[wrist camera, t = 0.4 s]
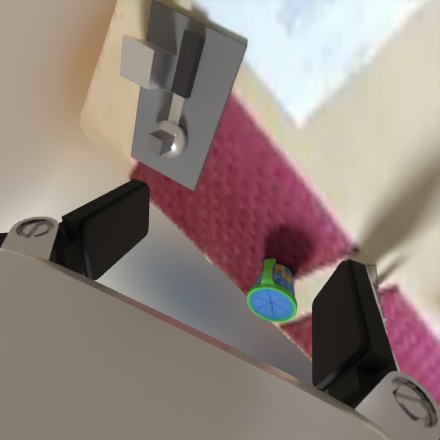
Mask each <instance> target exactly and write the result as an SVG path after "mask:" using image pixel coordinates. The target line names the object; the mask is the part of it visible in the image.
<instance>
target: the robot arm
mask: <svg viewBox="0 0 440 440" xmlns="http://www.w3.org/2000/svg"><path fill="white" fill-rule="evenodd" d="M149 199H150V188H149V187H148V186H147V183H145V182H142V181H140V180H137V179H133V180H131V181H129V182H127V183H125V184H123V185H122V186H120V187H118V188H116V189H114V190H112V191H110V192H108V193H106V194H104V195H102V196H100V197H99V198H97V199H95V200H93V201H91V202H89V203H87V204H85V205H83V206H81V207H79V208H78V209H76V210H73V211H72V212H70V213H68V214H66V215H64V216H62V220H63V221H62V222H60V223H58V222H57V221H56V220H54V219H53V218H49V217H32V218H28V219H24V220H22V221H20V222H18V223H16V224H15V225H14V226H13V227H12V228H11V229H10V231H9V233H0V440H440V409H439V406H438V405H437V403H436V402H435V400H434V399H433V397H432V396H431V395H430V393H429V392H428V391H427V390H426V389H425V388H424V387H423V386H422V385H421V384H420V383H419V382H417V381H416V380H415V379H414V378H412V377H410V376H409V375H407V374H405V373H402V372H399V371H398V370H397V367H396V363H395V360H394V357H393V353H392V350H391V347H390V344H389V340H388V337H387V334H386V330H385V327H384V324H383V321H382V317H381V314H380V311H379V308H378V306H377V302H376V299H375V296H374V292H373V289H372V286H371V283H370V279H369V276H368V273H367V269H366V266H365V265H364V264H361V263H358V262H356V261H353V260H348V261H347V262H346V261H342V262H341V263H340V265H339V266H338V267H337V269H336V270H335V271H334V273H333V274H332V276H331V277H330V278H329V280H328V281H327V282H326V284H325V285H324V286H323V288H322V289H321V291H320V292H319V293H318V295H317V296H316V297H315V299H314V301H313V304H312V381H313V385H314V386H315V387H317V389H316V388H315V387H312V386H310V385H309V384H307V383H305V382H303V381H301V380H299V379H297V378H294V377H293V376H291V375H289V374H287V373H285V372H283V371H281V370H279V369H277V368H275V367H273V366H271V365H269V364H267V363H265V362H262V361H260V360H258V359H256V358H254V357H252V356H250V355H248V354H246V353H244V352H242V351H240V350H238V349H236V348H234V347H232V346H229V345H228V344H225V343H223V342H221V341H219V340H217V339H215V338H213V337H211V336H209V335H207V334H205V333H203V332H201V331H199V330H196V329H194V328H192V327H190V326H188V325H186V324H184V323H182V322H180V321H178V320H176V319H173V318H172V317H169V316H167V315H165V314H163V313H161V312H159V311H157V310H155V309H153V308H150V307H149V306H146V305H144V304H142V303H140V302H138V301H136V300H134V299H131V298H130V297H127V296H125V295H123V294H121V293H119V292H117V291H115V290H113V289H111V288H108V287H106V286H104V285H102V284H100V283H98V282H96V281H94V280H97V279H98V278H100V277H101V276H102V275H103V274H104V273H105V272H106V271H107V270H108V269H110V268H111V267H112V266H113V265H114V264H115V263H116V262H117V261H118V260H120V259H121V258H122V257H123V256H124V255H125V254H126V253H127V252H129V251H130V250H131V249H132V248H133V247H134V246H135V245H136V244H137V243H139V242H140V241H141V240H142V239H143V238H144V237H145V236H146V235H147V233H148V227H149Z"/></svg>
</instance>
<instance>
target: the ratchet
mask: <svg viewBox="0 0 440 440" xmlns="http://www.w3.org/2000/svg"><path fill="white" fill-rule="evenodd" d="M205 40H206V39H204V38H202V37H200V36H198V35H196V34H194V33H192V32H190V31H188V30H185V29H184V33H183V38H182V42H181V47H180V52H179V56H178V61H177V66H176V70H175V75H174V80H173V84H172V89H171V92H173V93H174V95H173V99H172V104H171V108H170V113H169V117H168V120H164V121H160V122H158V123H157V124H155V126H154V127H153V129H152V132H151V133H148V137H147V143H146V148H145V149H147V150H148V151H150V152H152V153H154V154H156V155H158V156H161V155H162V156H164V157H167V158H173V157H176V156H178V155H179V154H181V153H183V152H184V151H185V150H186V148H187V145H188V136H187V132H186V130H185V128H184V127H183V126H182V121H183V117H184V113H185V109H186V105H187V102H188V98H190V96H191V93H192V89H193V85H194V81H195V78H196V74H197V70H198V66H199V62H200V59H201V55H202V51H203V47H204V44H205Z"/></svg>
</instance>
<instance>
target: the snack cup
mask: <svg viewBox="0 0 440 440" xmlns="http://www.w3.org/2000/svg"><path fill="white" fill-rule="evenodd" d="M275 262H276V259H273V258H271V259H265V260H264V261H263V264H264V268H263V269H262V271H261V272H260V274H259V276H258V278H257V280H256V282H255V283H254V286H253V287H252V288H251V289H249V291H248V293H247V294H248V296H247V303H248V305H249V307H250V309H251V310H252V311H253V312H254V313H255V314H256V315H258V316H259V317H261V318H263V319H265V320H268V321H272V322H285V321H288V320H290V319H292V318H293V317H294V316H295V315H296V311H297V302H296V299H295V292H294V283H293V276H292V273H291V271H290V270H289V268H287V267H285V266H283V265H281V264H277V263H275Z"/></svg>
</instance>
